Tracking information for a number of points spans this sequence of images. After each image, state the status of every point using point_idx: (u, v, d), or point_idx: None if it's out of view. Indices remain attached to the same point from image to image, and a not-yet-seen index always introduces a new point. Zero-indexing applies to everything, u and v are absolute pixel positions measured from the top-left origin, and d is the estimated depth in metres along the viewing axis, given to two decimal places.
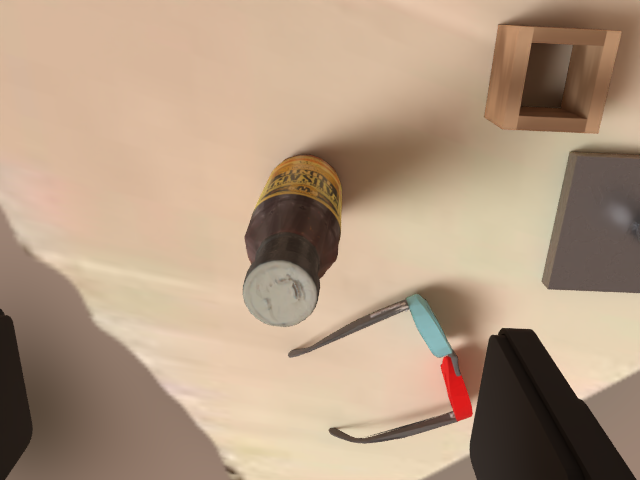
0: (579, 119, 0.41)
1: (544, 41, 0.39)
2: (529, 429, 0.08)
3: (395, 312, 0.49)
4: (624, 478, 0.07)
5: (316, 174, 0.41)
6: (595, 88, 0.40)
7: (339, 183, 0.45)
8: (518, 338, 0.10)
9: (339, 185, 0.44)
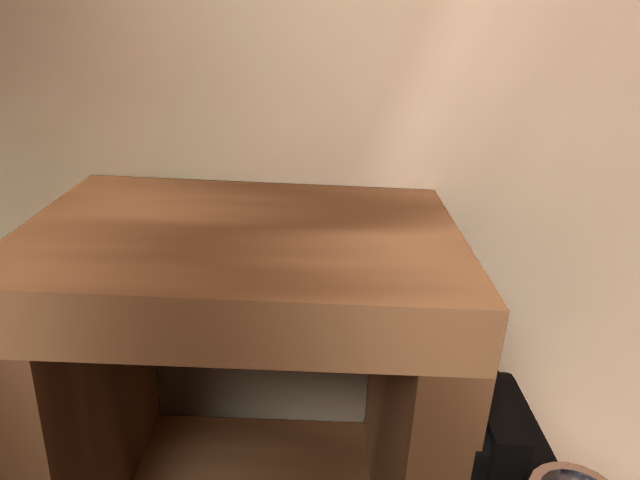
0: None
1: (419, 429, 0.08)
2: None
3: None
4: (524, 436, 0.08)
5: None
6: None
7: None
8: None
9: None
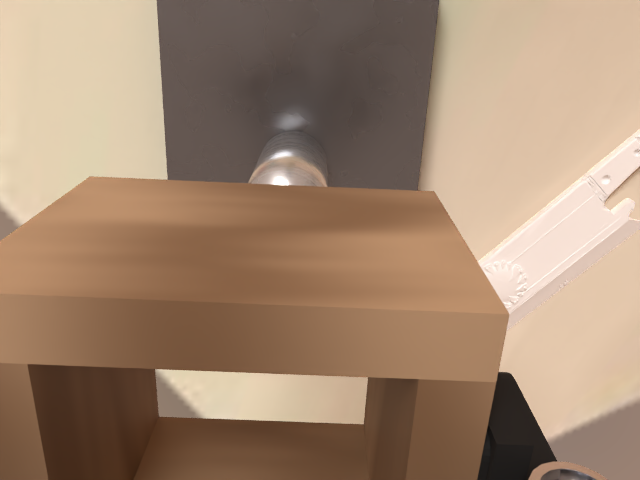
0: None
1: (419, 432, 0.08)
2: None
3: None
4: (524, 436, 0.08)
5: None
6: None
7: None
8: None
9: None
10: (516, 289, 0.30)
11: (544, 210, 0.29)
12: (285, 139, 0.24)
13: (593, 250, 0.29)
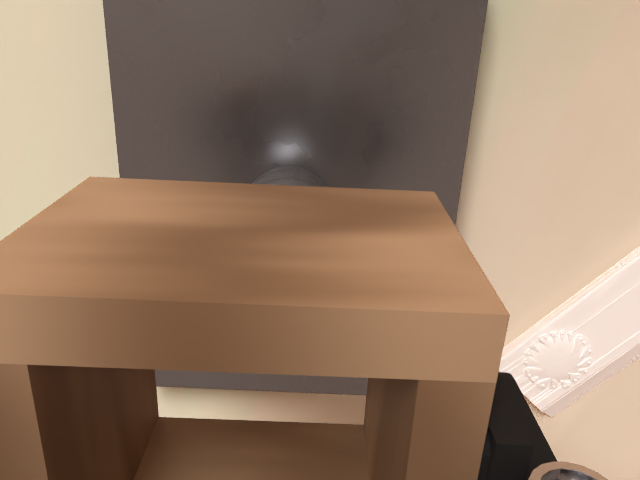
0: None
1: (419, 433, 0.08)
2: None
3: None
4: (524, 436, 0.08)
5: None
6: None
7: None
8: None
9: None
10: (577, 364, 0.24)
11: (618, 268, 0.22)
12: (278, 180, 0.18)
13: None
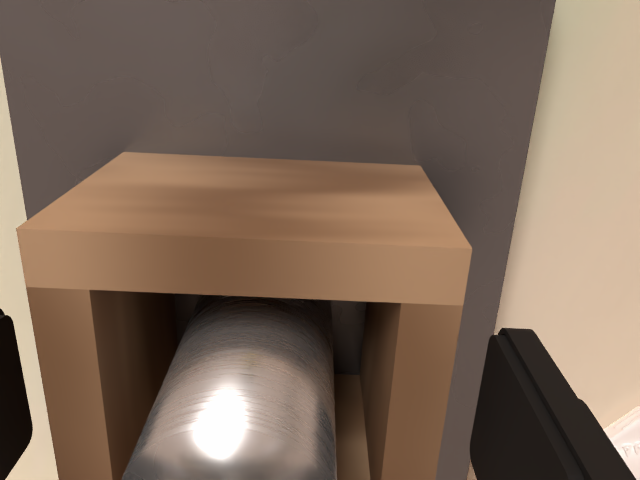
0: None
1: (402, 348, 0.09)
2: (529, 429, 0.08)
3: None
4: (624, 478, 0.07)
5: None
6: None
7: None
8: (518, 338, 0.10)
9: None
10: None
11: None
12: None
13: None
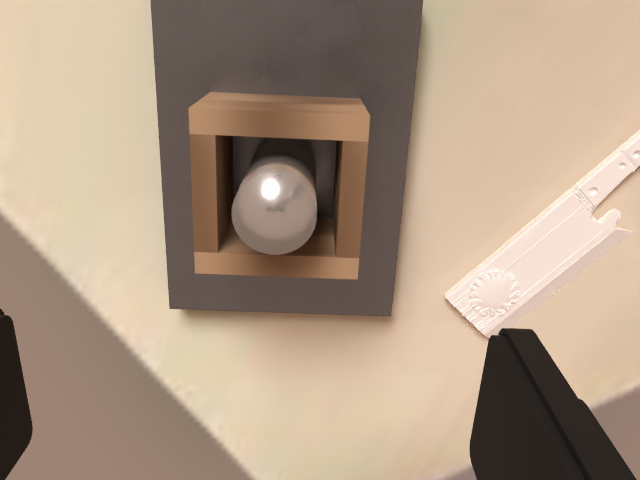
0: (216, 240, 0.24)
1: (344, 162, 0.22)
2: (529, 429, 0.08)
3: None
4: (624, 478, 0.07)
5: None
6: (268, 255, 0.24)
7: None
8: (518, 338, 0.10)
9: None
10: (509, 296, 0.31)
11: (535, 221, 0.30)
12: (275, 144, 0.25)
13: (582, 258, 0.31)
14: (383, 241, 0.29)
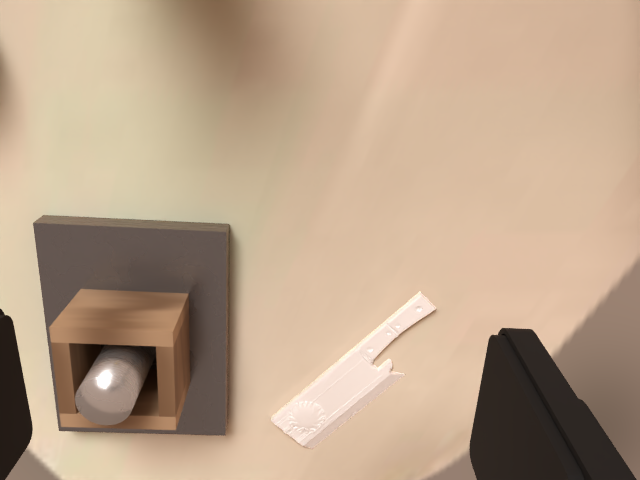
0: (74, 405, 0.34)
1: (158, 358, 0.33)
2: (529, 429, 0.08)
3: None
4: (624, 478, 0.07)
5: None
6: None
7: None
8: (518, 338, 0.10)
9: None
10: (317, 420, 0.42)
11: (331, 368, 0.41)
12: None
13: (369, 393, 0.42)
14: (214, 385, 0.40)
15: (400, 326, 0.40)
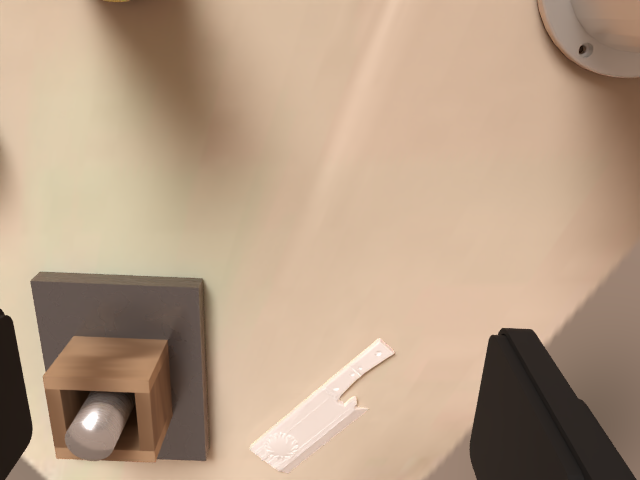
0: None
1: (137, 403, 0.38)
2: (529, 429, 0.08)
3: None
4: (624, 478, 0.07)
5: None
6: None
7: None
8: (518, 338, 0.10)
9: None
10: (291, 449, 0.47)
11: (302, 404, 0.46)
12: None
13: (337, 426, 0.46)
14: (194, 417, 0.45)
15: (362, 368, 0.44)
